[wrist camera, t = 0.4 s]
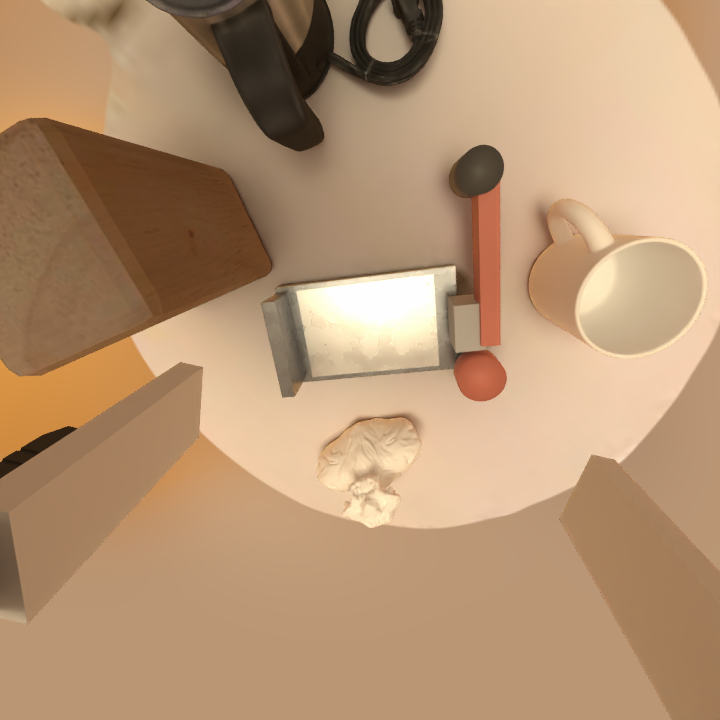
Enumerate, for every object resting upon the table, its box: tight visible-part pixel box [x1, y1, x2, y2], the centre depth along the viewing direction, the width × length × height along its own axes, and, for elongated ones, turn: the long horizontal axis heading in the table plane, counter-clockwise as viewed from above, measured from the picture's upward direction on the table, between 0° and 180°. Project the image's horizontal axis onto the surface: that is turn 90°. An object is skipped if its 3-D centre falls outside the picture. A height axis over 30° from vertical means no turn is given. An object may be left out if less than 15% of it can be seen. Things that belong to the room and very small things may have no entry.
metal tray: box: [261, 264, 464, 398], centre depth 35 cm, size 10×20×6 cm, turn 97°
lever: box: [447, 145, 507, 401], centre depth 31 cm, size 20×4×6 cm, turn 7°
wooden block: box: [0, 118, 271, 376], centre depth 27 cm, size 10×10×20 cm
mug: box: [529, 199, 708, 358], centre depth 29 cm, size 12×8×10 cm
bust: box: [317, 417, 422, 528], centre depth 39 cm, size 12×8×11 cm
